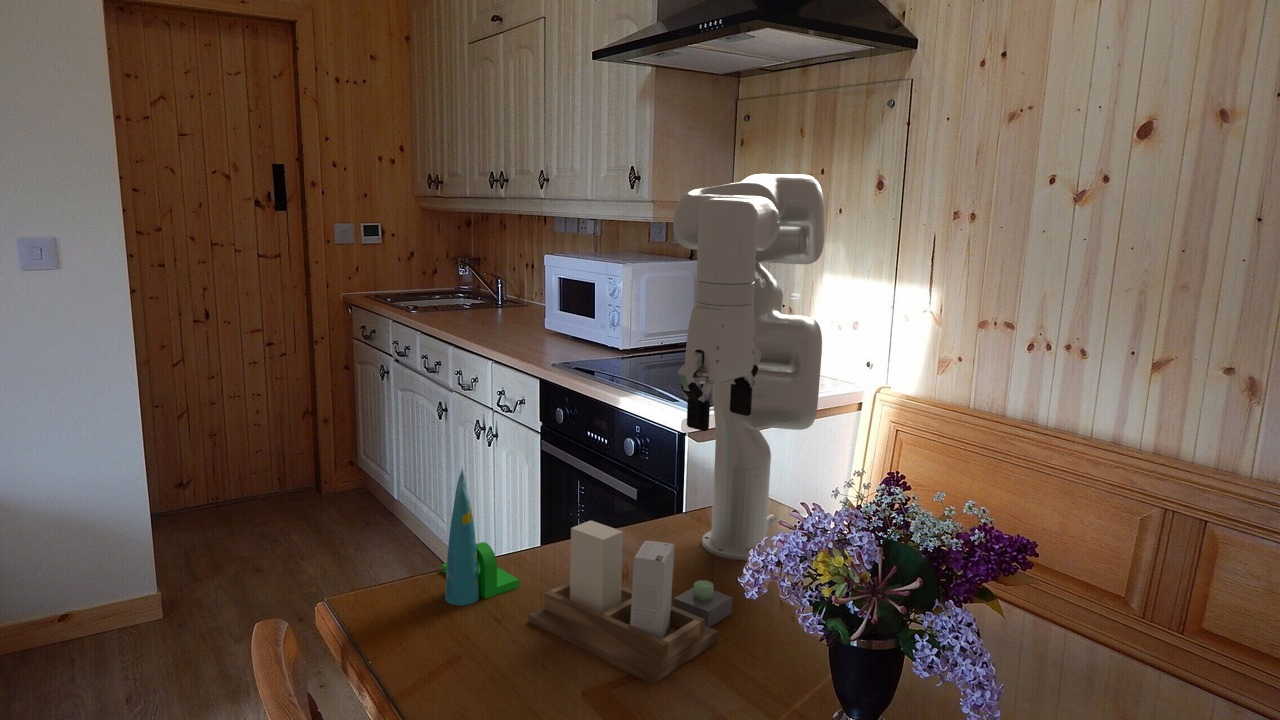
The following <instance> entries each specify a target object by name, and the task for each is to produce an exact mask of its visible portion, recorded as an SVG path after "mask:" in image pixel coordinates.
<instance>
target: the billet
mask: <svg viewBox="0 0 1280 720" xmlns="http://www.w3.org/2000/svg"><path fill="white" fill-rule="evenodd" d="M623 541H624V531H623V530H620V529H617V528H614V527H611V526H608V525H606V524H602V523H599V522H597V521H594V520H592V519H591V520H588V521H585V522H583V523H580V524H578V525H575V526H573V527H571V528H570V565H569V566H570V568H569V569H570V571H569V573H570V577H569V581H570V599H571V600H573V601H575V602H578V603H580V604H582V605H584V606H587V607H589V608H591V609H594V610H596V611H598V612H600V613H605V612H607V611H609V610H610V609H612V608H614V607H616V606H618V605H620V604H621V586H622V578H623V577H622V576H623V547H624V546H623V543H624V542H623Z"/></svg>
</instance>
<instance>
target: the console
mask: <svg viewBox="0 0 1280 720" xmlns="http://www.w3.org/2000/svg"><path fill="white" fill-rule="evenodd" d="M673 607H676V608H678V609H681V610H683V611H686V612H688V613H691V614H693V615H696V616H698V617H701V618H703V619H705V626H707V627H709V628H712V626H714V625H715V624H717V623H718V622H720V621H722V620H724V618H727V617H728V616H729V615H731V614H732V612H733V608H732V607H733V597H732V596H730V595H727V594H725V593H724V592H723V593H722V592H719V591H717V590H715V589H713V600H712V601H710V602H699V601H697V600H695V599H694V586H693V587H691V588H690V589H687V590H686V591H684V592H683V593H681V594H679V595H676V596H675V597H674V598H673Z"/></svg>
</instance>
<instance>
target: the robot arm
mask: <svg viewBox="0 0 1280 720" xmlns="http://www.w3.org/2000/svg"><path fill="white" fill-rule="evenodd" d="M672 227H673V233H674V236H675V238H676V241H677V243H679V245H680V246H681V247H683V248H685V249H688V250H696V251H697V258H696V259H697V260H696V284H695V285H696V286H695V305H693V306H692V309H691V313H690V318H689V322H688V323H689V324H688V330H687V336H686V337H687V338H686V345H685V346H686V347H685V354H684V355H685V357H684V364H683V365H682V366H680V368H679V369H678V372H677V376H678V378H679V381H680V387H681V390H682V392H684V398H686V399H687V402H686V403H687V405H686V406H687V407H686V408H687V409H686V426H687V427H688V428H690V429H694V430H698V431H701V432H708V431H709V429H710V412H711V411H710V409H711V405H710V404H711V403H710V402H711V401H709V400H708V397H709V395H710V393H711V391H712V404H713V406H712V407H713V412H714V423H715V424H714V426H715V427H714V429H715V449H714V450H715V451H714V469H713V471H714V472H713V489H712V512H711V530H709V531H707V532H705V534H703V536H702V538H701V545H702V548H704V549H705V550H706V551H708V552H709V553H710V554H712V555H714V556H717V557H721V558H724V559H730V560H740V561H744V562H748V561H747V559H748V554H749V551H750V550H751V549H752V548H753V547H754V546H755V545H756V544H757V543H758V542H759V541H760V540H762V539H763V538H765V537H770V536H769V535H768V533H767V532H768V529H769V528H770V527H771V526H773V525H775V524H777V517H776V515H775V514H772V513H771V514H768V512H769V510H768V509H769V495H770V494H769V492H770V478H771V477H770V476H771V475H770V474H771V462H772V452H771V448H770V445H769V443H768V441H767V439H766V437H765V436H764V435H763V434H762V432H761V430H760V429H759V428H768V429H769V428H770V429H772V428H773V429H782V430H795V431H797V430H798V431H801V430H806V429H808V428H810V427H812V425H813V423H814V422H815V420H816V417H817V412H818V405H819V404H818V403H819V394H820V393H819V392H820V380H821V366H822V355H823V335H822V329H821V327H820V325H819V322H818V321H816V320H815V319H814V318H812V317H810V316H805V315H798V314H797V315H796V314H795V315H794V314H782V308H783V302H784V301H783V300H784V293H783V290H782V287H781V286H780V284H779V283H778V281H777V280H776V279H775V277H774V275H772V274H771V273H770V272H769V270H767V269H766V268H765V267H764V266H763V265H762V264H761V263H765V264H766V263H769V264H784V265H786V264H789V265H810V264H813V263H815V262H817V261H818V260H819V259H820V257H821V256H822V253H823V250H824V246H825V245H824V244H825V201H824V194H823V191H822V188H821V185H820V183H819V182H818V180H817V179H815V177H813V176H812V175H808V174H782V173H781V174H774V173H772V174H771V173H759V174H758V173H757V174H752V175H749V176H747V177H745V178H744V179H742V180H741V181H739V182H732V183H726V184H722V185H715V186H707V187H700V188H696V189H692V190H689V191H688V192H686V193H685V194H683V196H682V197H680V199H679V201H678V202H677V205H676V207H675V209H674V214H673V226H672ZM769 369H770V370H769ZM771 369H775V370H771ZM776 370H778V371H776ZM779 370H780V371H779ZM781 370H782V371H781ZM783 370H785V371H783ZM789 371H790V372H789ZM699 384H700V385H701V384H702V385H703V386H702V387H701V389H700V387H699Z"/></svg>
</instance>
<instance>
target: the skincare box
mask: <svg viewBox="0 0 1280 720" xmlns="http://www.w3.org/2000/svg"><path fill="white" fill-rule="evenodd" d="M674 558H675V544H674V543H671V542H662V541H655V540H644V541H643V543H642V545H641V546H640V548H639V550H638V551H637V553H636V554H635V555H634V557H633V570H632V571H633V572H632V583H631V590H632V600H631V618H630V626H632V627H635V628H637V629H639V630H642V631H644V632H646V633H648V634H651V635H653V636H655V637H658V638H660V639H663V638H664V636H665V634H666V632H667V630H668V628H669V626H670V616H671V606H672V599H673V598H672V594H673V593H672V592H673V579H674V578H673V576H674V560H675V559H674Z"/></svg>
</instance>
